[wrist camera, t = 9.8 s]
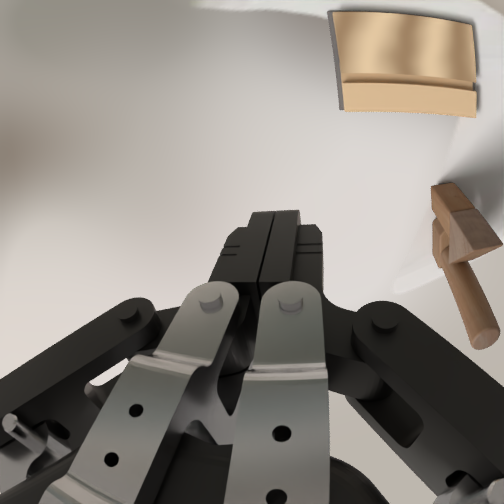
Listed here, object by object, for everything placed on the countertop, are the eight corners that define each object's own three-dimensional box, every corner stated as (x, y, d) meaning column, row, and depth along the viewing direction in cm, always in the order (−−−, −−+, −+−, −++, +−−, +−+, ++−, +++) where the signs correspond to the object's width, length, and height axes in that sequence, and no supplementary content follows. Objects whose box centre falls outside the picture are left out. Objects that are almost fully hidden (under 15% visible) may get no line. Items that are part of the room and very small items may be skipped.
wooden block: (454, 181, 33) (521, 269, 18) (453, 249, 38) (497, 347, 24) (429, 185, 34) (487, 277, 20) (431, 253, 40) (468, 355, 25)
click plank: (466, 25, 21) (471, 25, 20) (471, 81, 25) (476, 82, 24) (332, 13, 25) (333, 12, 24) (340, 72, 28) (341, 73, 27)
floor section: (468, 24, 21) (475, 23, 19) (472, 115, 27) (479, 118, 26) (327, 12, 25) (327, 9, 23) (339, 109, 31) (340, 112, 30)
